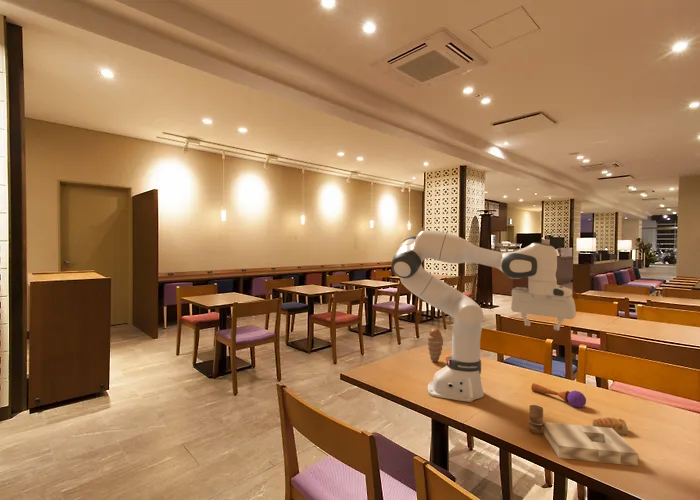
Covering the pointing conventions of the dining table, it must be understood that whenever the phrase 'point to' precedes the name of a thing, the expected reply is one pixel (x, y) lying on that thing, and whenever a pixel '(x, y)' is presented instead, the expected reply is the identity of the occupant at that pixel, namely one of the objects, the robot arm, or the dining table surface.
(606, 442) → the seat board
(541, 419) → the peg
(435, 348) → the brown ribbed tapered oval
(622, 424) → the pastry
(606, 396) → the dining table surface
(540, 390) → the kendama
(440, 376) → the robot arm
